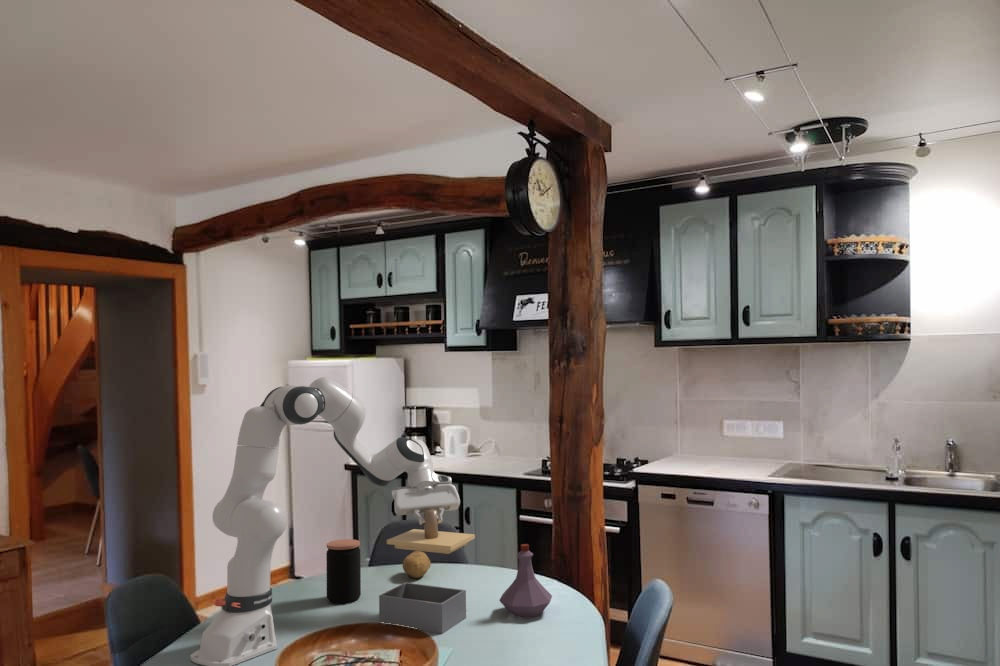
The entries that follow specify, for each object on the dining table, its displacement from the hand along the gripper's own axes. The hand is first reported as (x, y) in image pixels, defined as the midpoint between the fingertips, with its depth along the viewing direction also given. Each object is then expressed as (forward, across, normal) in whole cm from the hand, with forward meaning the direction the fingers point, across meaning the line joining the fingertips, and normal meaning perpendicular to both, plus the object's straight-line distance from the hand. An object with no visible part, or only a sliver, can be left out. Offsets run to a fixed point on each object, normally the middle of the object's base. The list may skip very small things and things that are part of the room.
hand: (431, 522), depth 218 cm
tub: (+22, -4, +16) cm, 28 cm away
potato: (-9, +4, +48) cm, 49 cm away
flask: (+26, +26, +13) cm, 39 cm away
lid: (+5, 0, +6) cm, 7 cm away
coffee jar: (+2, -24, +36) cm, 43 cm away
